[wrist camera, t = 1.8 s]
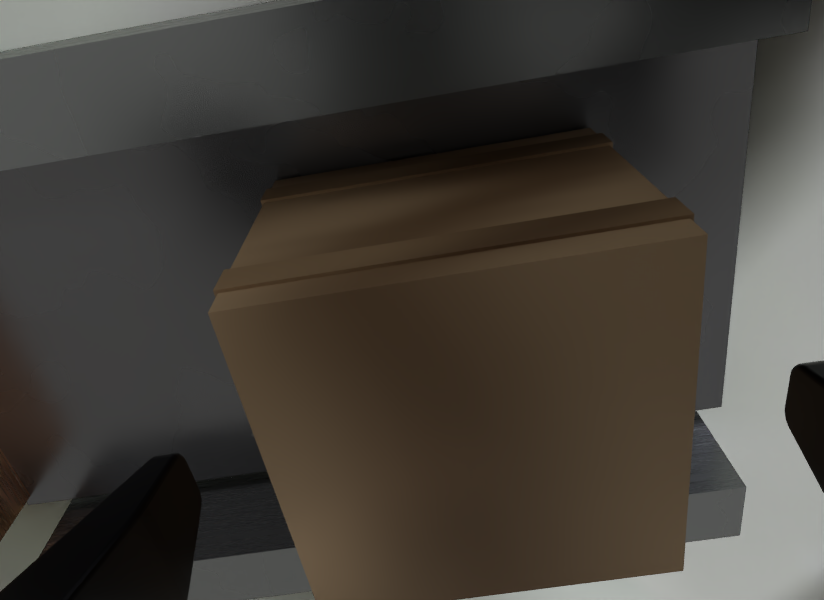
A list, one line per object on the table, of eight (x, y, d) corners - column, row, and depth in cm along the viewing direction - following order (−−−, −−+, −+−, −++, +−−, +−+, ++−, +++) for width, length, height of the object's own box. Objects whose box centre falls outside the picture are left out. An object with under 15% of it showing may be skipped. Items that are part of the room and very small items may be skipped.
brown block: (592, 124, 12) (712, 230, 7) (598, 386, 15) (686, 572, 10) (271, 178, 12) (202, 309, 8) (340, 423, 15) (319, 619, 11)
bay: (812, -589, 8) (1526, -1506, 3) (712, 453, 16) (851, 672, 11) (-658, -255, 9) (-1941, -502, 4) (-37, 556, 17) (-207, 796, 12)
